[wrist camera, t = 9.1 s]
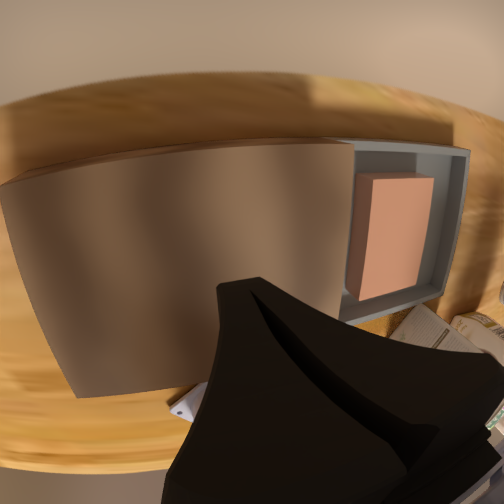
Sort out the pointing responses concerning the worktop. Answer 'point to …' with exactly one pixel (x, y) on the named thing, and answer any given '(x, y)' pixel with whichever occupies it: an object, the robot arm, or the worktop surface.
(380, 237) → the tile
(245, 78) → the worktop surface
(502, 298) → the canned food
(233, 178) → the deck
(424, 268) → the tray
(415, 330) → the syrup box
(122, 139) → the worktop surface
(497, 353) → the juice carton
